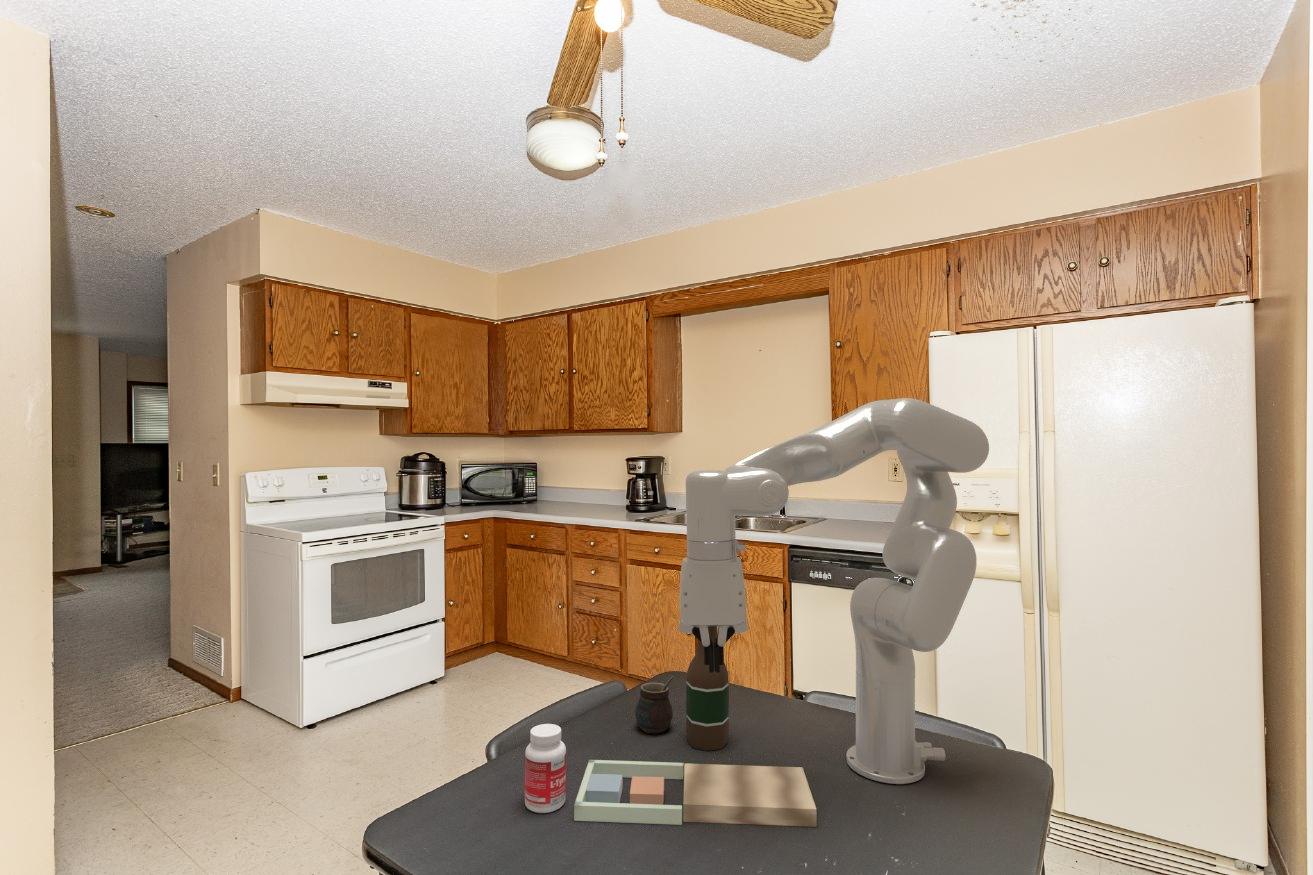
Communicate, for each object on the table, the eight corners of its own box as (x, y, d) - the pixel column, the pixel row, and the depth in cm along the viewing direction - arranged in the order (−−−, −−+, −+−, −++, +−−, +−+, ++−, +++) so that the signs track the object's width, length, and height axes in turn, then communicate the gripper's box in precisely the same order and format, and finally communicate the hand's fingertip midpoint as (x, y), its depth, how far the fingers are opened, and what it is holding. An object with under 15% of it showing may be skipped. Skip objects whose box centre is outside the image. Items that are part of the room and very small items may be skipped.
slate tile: (591, 773, 102) (591, 789, 102) (585, 790, 97) (585, 807, 97) (622, 774, 102) (622, 790, 102) (618, 791, 97) (618, 808, 97)
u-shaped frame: (683, 776, 106) (683, 762, 106) (681, 824, 92) (681, 809, 92) (589, 772, 107) (589, 759, 107) (574, 820, 93) (574, 805, 93)
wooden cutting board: (802, 782, 104) (802, 767, 104) (816, 826, 92) (816, 809, 92) (684, 778, 105) (684, 763, 105) (683, 821, 93) (683, 804, 93)
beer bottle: (728, 733, 122) (728, 606, 122) (728, 752, 114) (729, 616, 114) (687, 731, 123) (687, 604, 123) (684, 750, 115) (685, 615, 115)
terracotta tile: (663, 792, 101) (663, 776, 101) (663, 811, 96) (663, 794, 96) (632, 792, 102) (632, 776, 102) (629, 810, 97) (629, 793, 97)
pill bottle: (554, 817, 94) (554, 741, 94) (517, 810, 96) (517, 735, 96) (572, 795, 100) (572, 724, 100) (537, 789, 102) (537, 718, 102)
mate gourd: (628, 725, 125) (629, 673, 125) (662, 718, 129) (663, 667, 129) (645, 740, 119) (646, 685, 119) (680, 732, 122) (681, 679, 123)
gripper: (757, 545, 103) (760, 661, 103) (664, 547, 104) (666, 661, 103) (762, 554, 95) (765, 678, 95) (661, 555, 96) (664, 678, 96)
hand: (714, 669), depth 99 cm, fingers closed
